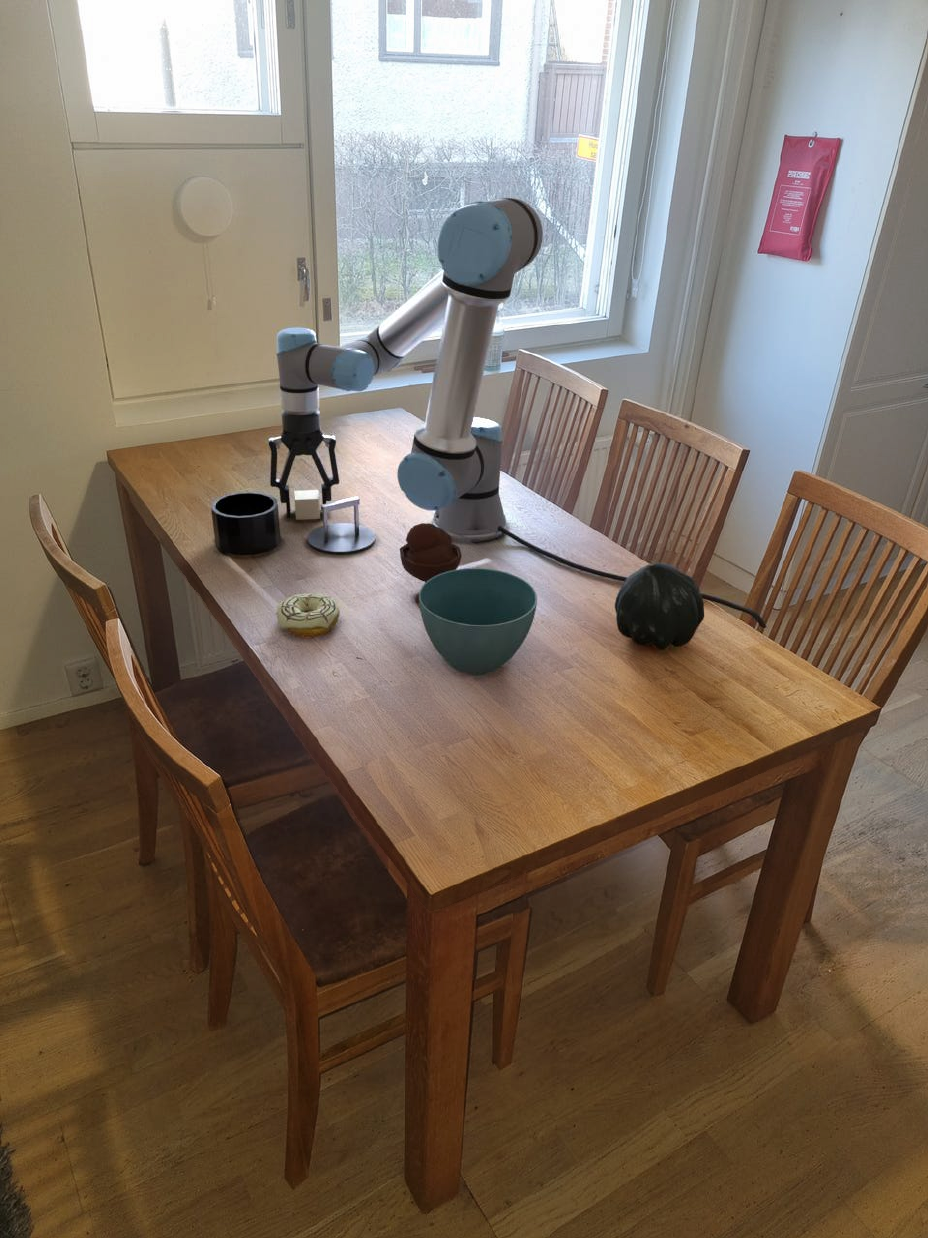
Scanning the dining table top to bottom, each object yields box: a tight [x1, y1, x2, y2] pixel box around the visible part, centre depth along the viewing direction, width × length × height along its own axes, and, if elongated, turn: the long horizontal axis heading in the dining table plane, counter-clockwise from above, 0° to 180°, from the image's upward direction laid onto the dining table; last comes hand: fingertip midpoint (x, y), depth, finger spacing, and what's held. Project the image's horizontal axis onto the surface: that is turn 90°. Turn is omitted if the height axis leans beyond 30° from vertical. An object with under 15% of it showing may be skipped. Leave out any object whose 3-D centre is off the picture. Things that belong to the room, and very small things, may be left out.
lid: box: [307, 496, 377, 556], centre depth 179 cm, size 14×14×9 cm
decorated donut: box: [275, 592, 340, 639], centre depth 153 cm, size 10×11×4 cm
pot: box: [210, 491, 282, 557], centre depth 177 cm, size 13×13×8 cm
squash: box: [614, 562, 705, 651], centre depth 150 cm, size 14×15×15 cm
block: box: [293, 489, 321, 521], centre depth 191 cm, size 5×5×5 cm
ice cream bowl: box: [399, 522, 462, 605], centre depth 159 cm, size 11×11×15 cm
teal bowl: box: [418, 567, 538, 676], centre depth 142 cm, size 18×18×12 cm
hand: (307, 515), depth 192 cm, fingers open, 7 cm apart
